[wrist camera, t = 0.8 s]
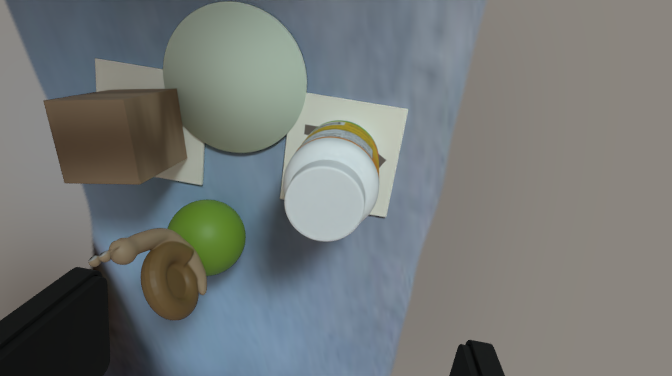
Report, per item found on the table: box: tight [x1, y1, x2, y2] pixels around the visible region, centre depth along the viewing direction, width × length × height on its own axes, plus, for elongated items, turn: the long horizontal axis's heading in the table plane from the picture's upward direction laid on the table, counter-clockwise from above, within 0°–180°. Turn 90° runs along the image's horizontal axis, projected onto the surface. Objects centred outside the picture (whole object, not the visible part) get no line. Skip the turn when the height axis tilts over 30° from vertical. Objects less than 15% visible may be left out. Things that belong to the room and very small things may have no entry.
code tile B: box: [95, 58, 205, 185], centre depth 30 cm, size 8×8×1 cm
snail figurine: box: [88, 200, 246, 320], centre depth 26 cm, size 5×6×12 cm
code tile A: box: [280, 93, 408, 217], centre depth 29 cm, size 8×8×1 cm
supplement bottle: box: [283, 120, 379, 242], centre depth 25 cm, size 5×5×10 cm
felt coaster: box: [163, 1, 307, 153], centre depth 28 cm, size 10×10×1 cm
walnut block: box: [44, 89, 187, 184], centre depth 27 cm, size 5×5×6 cm
